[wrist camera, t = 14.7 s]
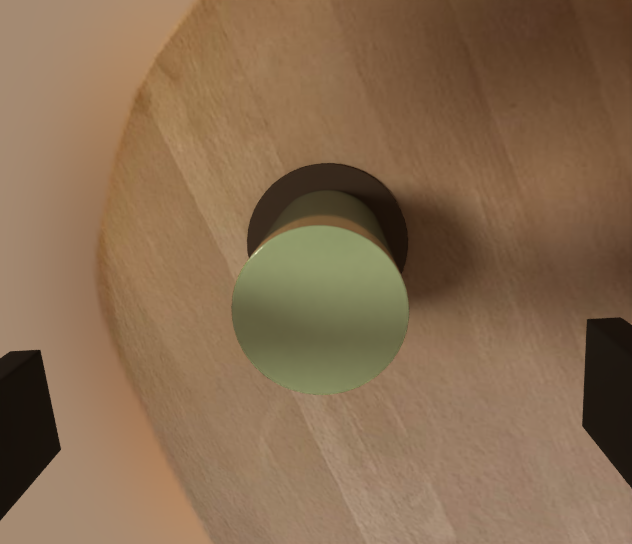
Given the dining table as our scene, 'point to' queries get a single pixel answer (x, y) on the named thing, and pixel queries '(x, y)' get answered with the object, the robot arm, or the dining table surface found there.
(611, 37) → the dining table surface
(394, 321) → the canister
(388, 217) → the coaster
